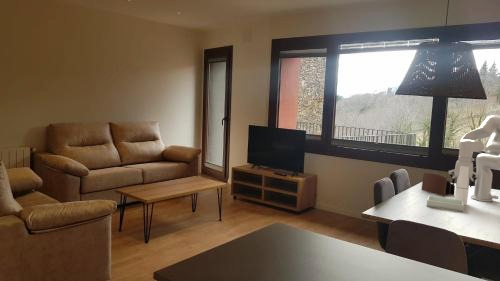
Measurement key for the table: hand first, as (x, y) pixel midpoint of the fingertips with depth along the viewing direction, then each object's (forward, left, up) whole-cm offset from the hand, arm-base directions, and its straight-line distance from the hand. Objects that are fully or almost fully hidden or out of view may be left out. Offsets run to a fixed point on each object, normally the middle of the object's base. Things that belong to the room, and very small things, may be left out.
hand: (462, 185), depth 243 cm
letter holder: (+14, -25, -12) cm, 31 cm away
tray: (+9, +14, -12) cm, 20 cm away
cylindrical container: (0, 0, -12) cm, 12 cm away
